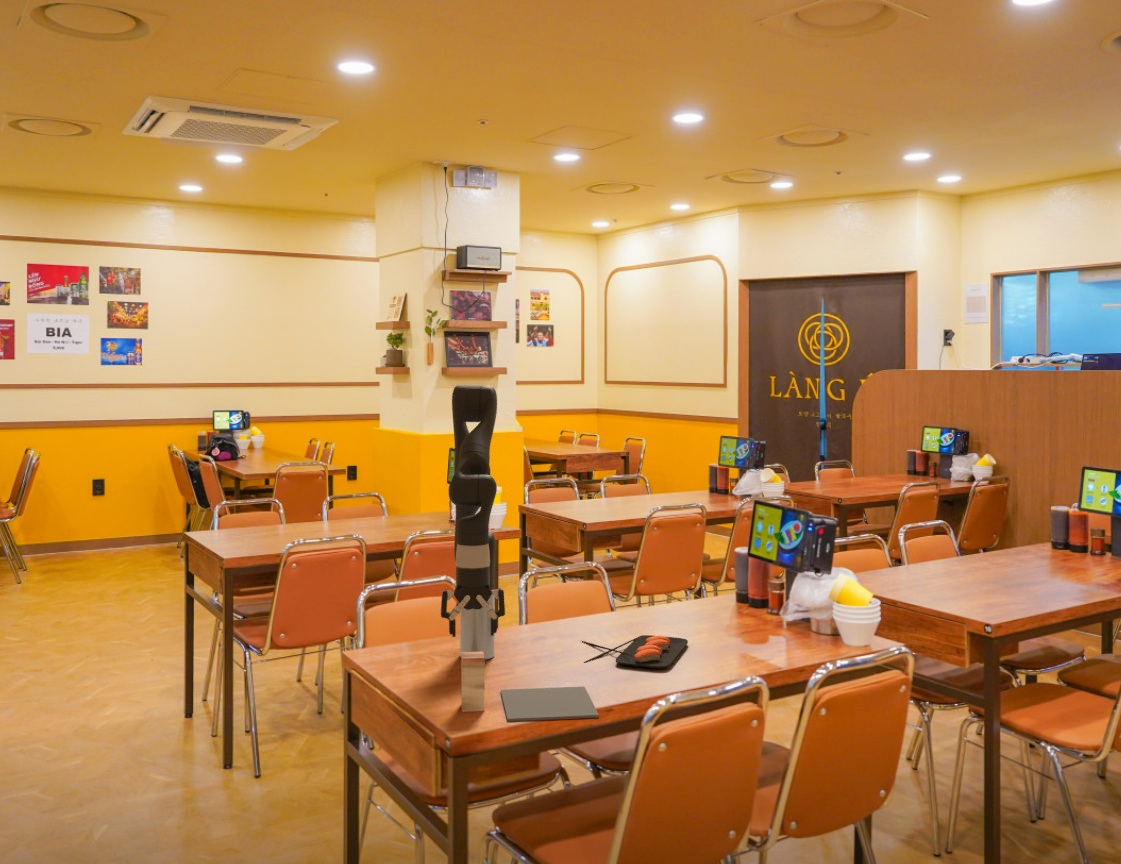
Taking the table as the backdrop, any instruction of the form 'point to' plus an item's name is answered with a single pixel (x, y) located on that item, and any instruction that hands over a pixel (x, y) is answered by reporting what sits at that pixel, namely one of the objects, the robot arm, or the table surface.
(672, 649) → the sushi plate
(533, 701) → the slate mat
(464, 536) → the robot arm
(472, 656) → the birch block
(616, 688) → the table surface
